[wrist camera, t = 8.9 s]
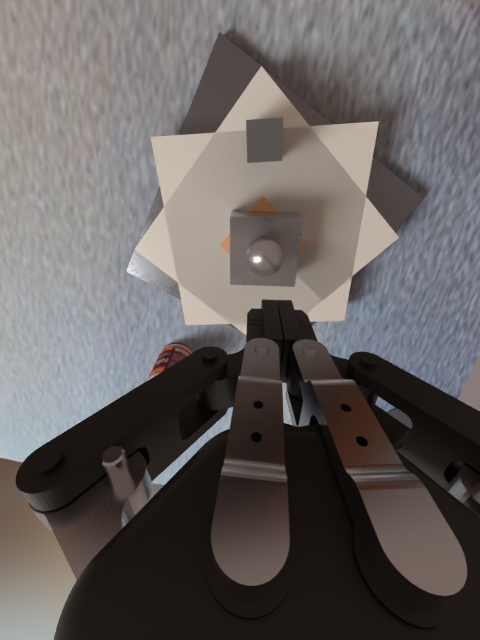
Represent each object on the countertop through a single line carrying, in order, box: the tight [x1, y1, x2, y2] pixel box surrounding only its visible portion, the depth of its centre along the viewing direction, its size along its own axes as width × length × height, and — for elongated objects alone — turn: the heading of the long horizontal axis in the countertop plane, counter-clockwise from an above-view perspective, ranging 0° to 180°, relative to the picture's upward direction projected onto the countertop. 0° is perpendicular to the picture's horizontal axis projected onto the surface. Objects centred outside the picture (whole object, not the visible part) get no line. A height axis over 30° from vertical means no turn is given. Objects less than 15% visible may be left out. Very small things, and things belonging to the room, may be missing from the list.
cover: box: [230, 211, 304, 287], centre depth 24 cm, size 6×6×4 cm
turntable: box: [135, 66, 399, 336], centre depth 24 cm, size 26×26×6 cm
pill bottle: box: [147, 344, 192, 381], centre depth 34 cm, size 5×5×8 cm
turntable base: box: [126, 32, 424, 330], centre depth 28 cm, size 22×22×1 cm
